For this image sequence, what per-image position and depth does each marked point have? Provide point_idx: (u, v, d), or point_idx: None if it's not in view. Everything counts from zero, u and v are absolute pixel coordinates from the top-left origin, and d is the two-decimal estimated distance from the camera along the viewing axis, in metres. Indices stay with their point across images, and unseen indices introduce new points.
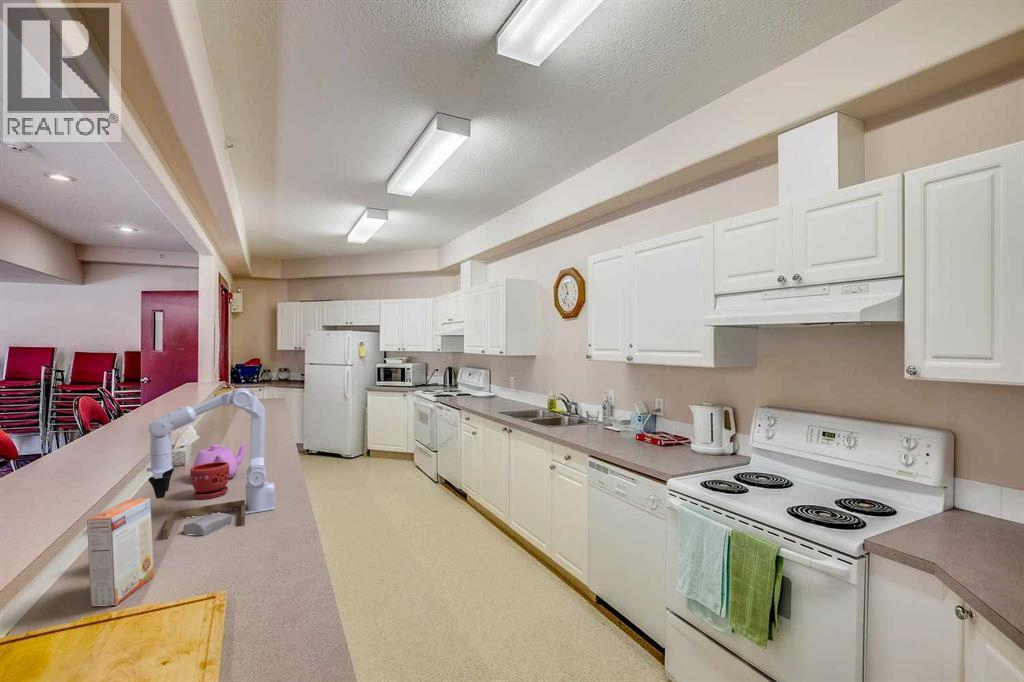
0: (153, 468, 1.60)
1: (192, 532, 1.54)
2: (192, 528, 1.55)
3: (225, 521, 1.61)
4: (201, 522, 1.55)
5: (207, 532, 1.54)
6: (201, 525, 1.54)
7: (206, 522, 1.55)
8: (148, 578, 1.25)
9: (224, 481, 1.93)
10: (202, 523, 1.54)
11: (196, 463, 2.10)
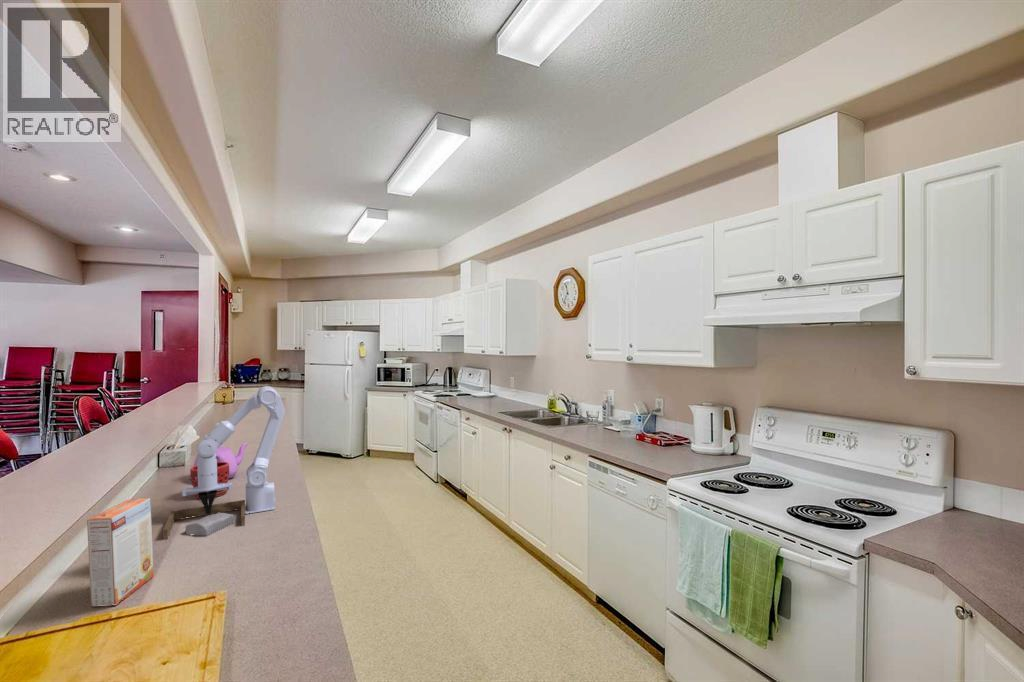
0: None
1: (194, 532, 1.54)
2: (194, 528, 1.54)
3: (227, 521, 1.61)
4: (203, 522, 1.54)
5: (209, 532, 1.54)
6: (203, 525, 1.53)
7: (208, 522, 1.55)
8: (148, 578, 1.25)
9: (224, 481, 1.93)
10: (204, 523, 1.54)
11: (196, 463, 2.10)
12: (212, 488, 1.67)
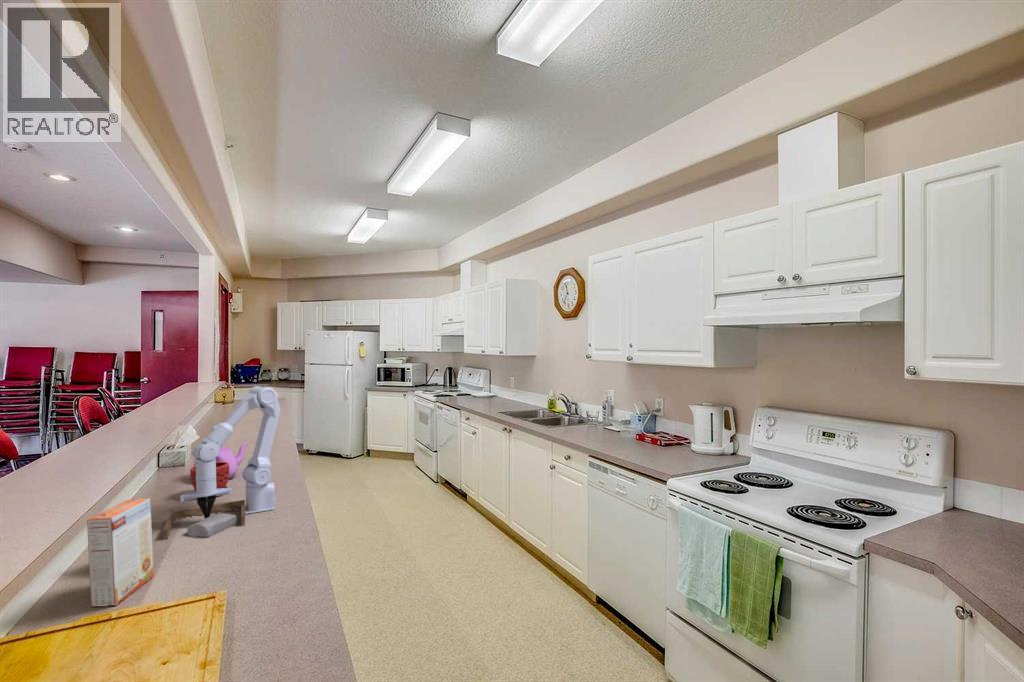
0: None
1: (196, 533, 1.53)
2: (196, 529, 1.53)
3: (229, 522, 1.60)
4: (205, 523, 1.53)
5: (211, 533, 1.53)
6: (205, 526, 1.52)
7: (210, 523, 1.54)
8: (148, 578, 1.25)
9: (224, 481, 1.93)
10: (206, 524, 1.53)
11: None
12: (211, 493, 1.62)
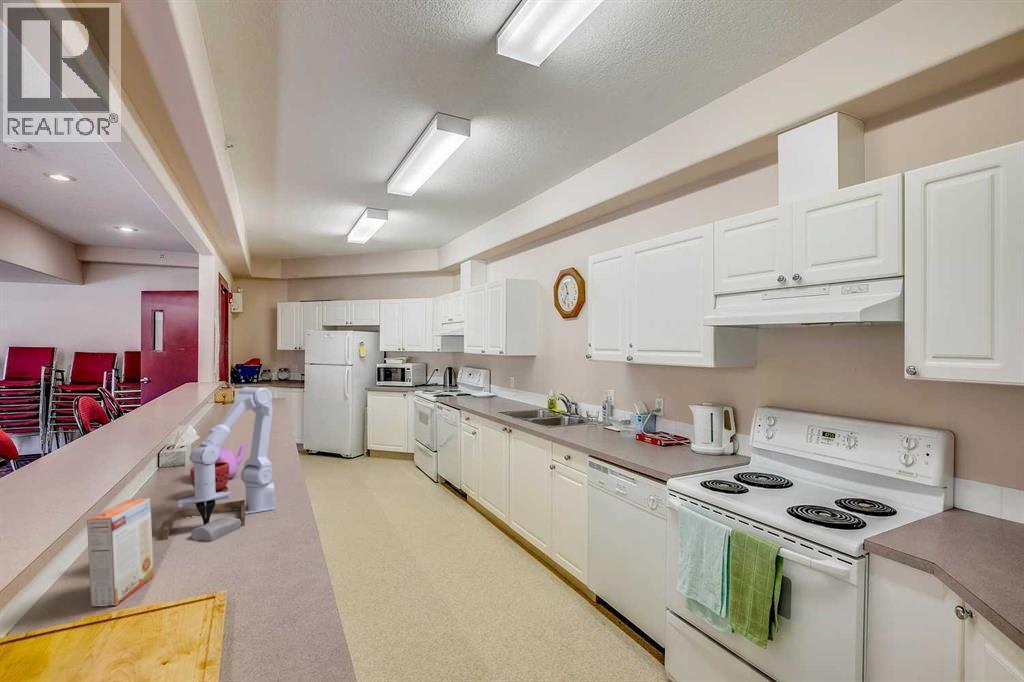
0: None
1: (200, 537, 1.50)
2: (200, 533, 1.51)
3: (234, 526, 1.57)
4: (209, 527, 1.50)
5: (215, 537, 1.50)
6: (209, 530, 1.49)
7: (214, 527, 1.51)
8: (148, 578, 1.25)
9: (224, 481, 1.93)
10: (210, 528, 1.50)
11: None
12: (211, 497, 1.58)
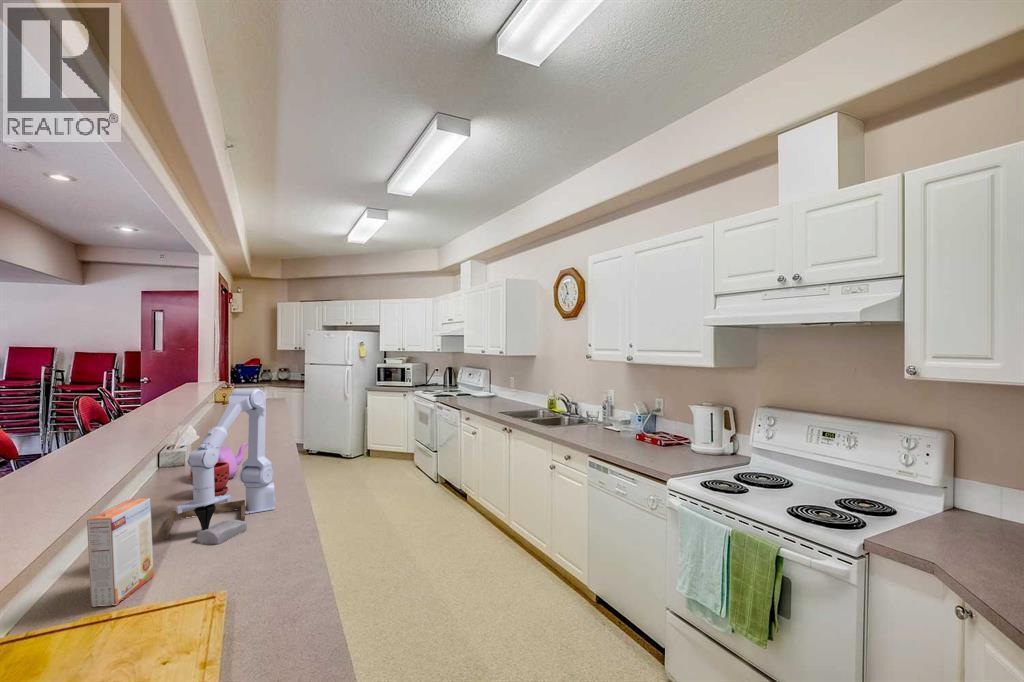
0: None
1: (206, 540, 1.48)
2: (206, 536, 1.48)
3: (240, 529, 1.55)
4: (215, 530, 1.48)
5: (221, 540, 1.48)
6: (215, 533, 1.47)
7: (220, 530, 1.48)
8: (148, 578, 1.25)
9: (224, 481, 1.93)
10: (216, 531, 1.48)
11: None
12: (212, 501, 1.54)
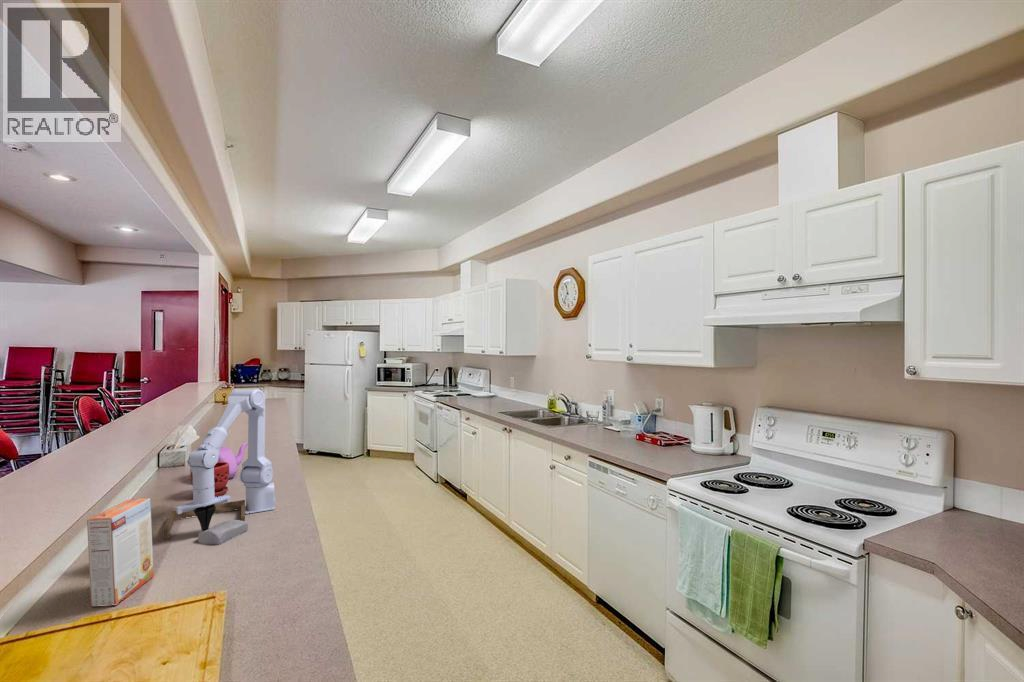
0: None
1: (207, 540, 1.48)
2: (207, 536, 1.48)
3: (241, 529, 1.54)
4: (216, 530, 1.48)
5: (222, 541, 1.47)
6: (216, 533, 1.47)
7: (221, 530, 1.48)
8: (148, 578, 1.25)
9: (224, 481, 1.93)
10: (217, 531, 1.48)
11: None
12: (212, 502, 1.54)
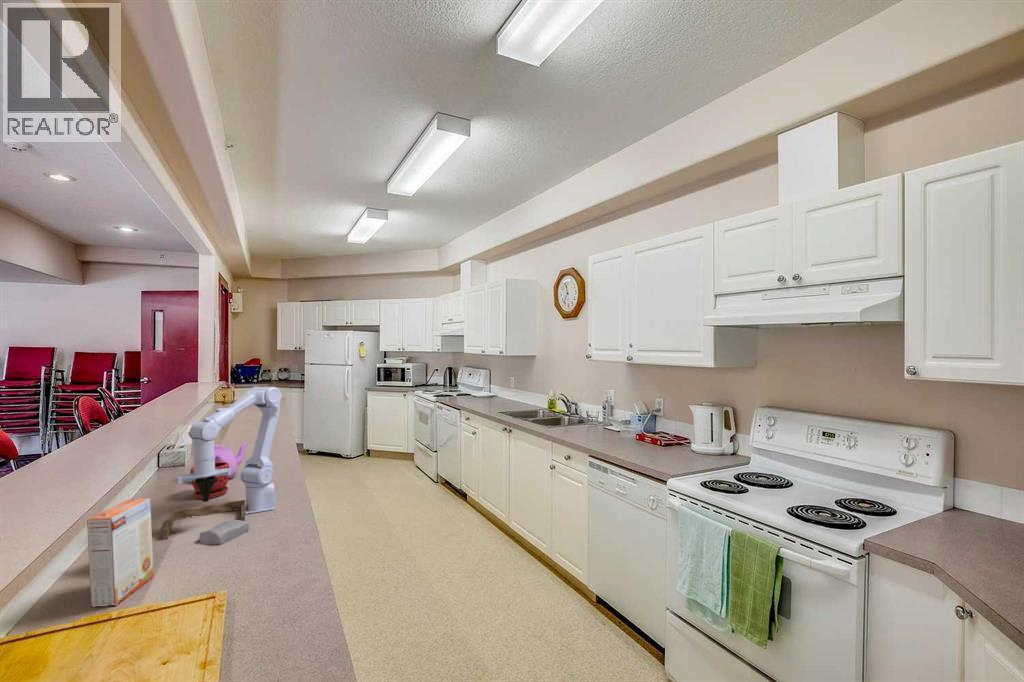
0: None
1: (208, 541, 1.48)
2: (208, 536, 1.48)
3: (242, 529, 1.54)
4: (218, 530, 1.48)
5: (224, 541, 1.47)
6: (218, 533, 1.47)
7: (223, 530, 1.48)
8: (148, 578, 1.25)
9: (224, 481, 1.93)
10: (219, 531, 1.48)
11: None
12: (211, 474, 1.57)
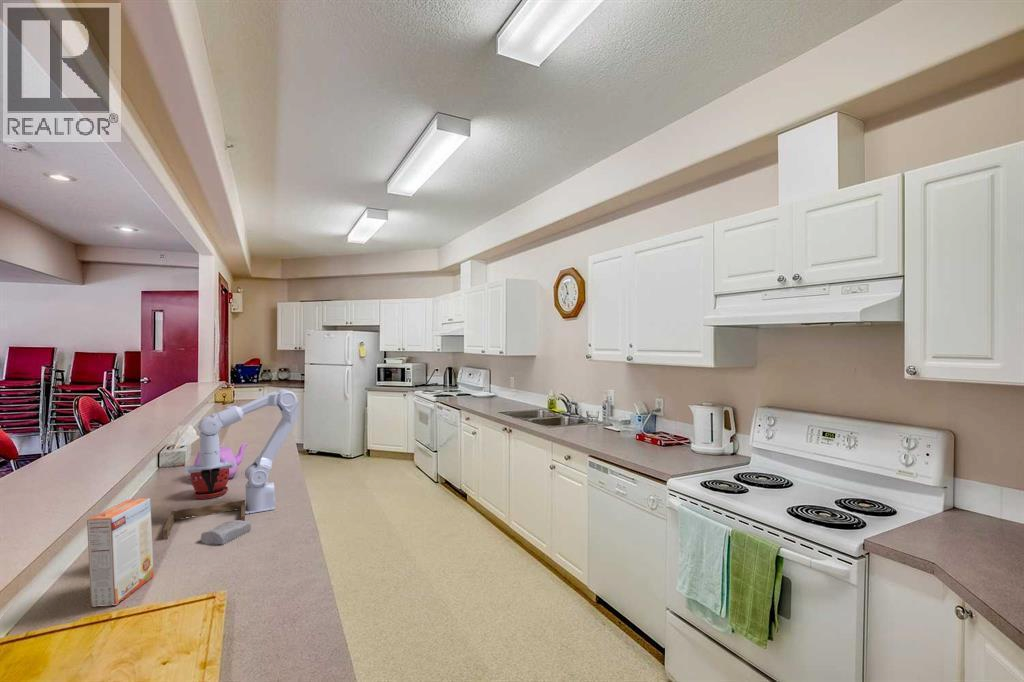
0: None
1: (210, 541, 1.47)
2: (210, 536, 1.48)
3: (244, 529, 1.54)
4: (219, 530, 1.48)
5: (226, 541, 1.47)
6: (219, 534, 1.47)
7: (225, 530, 1.48)
8: (148, 578, 1.25)
9: (224, 481, 1.93)
10: (220, 531, 1.47)
11: (196, 463, 2.10)
12: (215, 466, 1.66)
